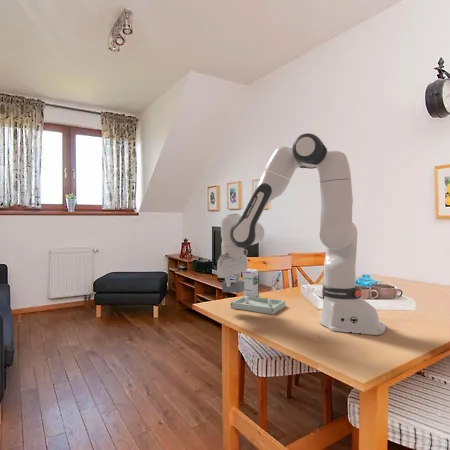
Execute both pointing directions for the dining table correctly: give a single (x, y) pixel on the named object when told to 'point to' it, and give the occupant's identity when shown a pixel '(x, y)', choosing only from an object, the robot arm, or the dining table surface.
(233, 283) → the grey rectangular block
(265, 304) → the tray
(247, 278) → the syrup box
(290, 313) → the dining table surface
